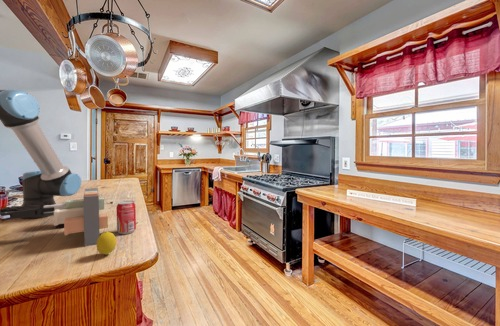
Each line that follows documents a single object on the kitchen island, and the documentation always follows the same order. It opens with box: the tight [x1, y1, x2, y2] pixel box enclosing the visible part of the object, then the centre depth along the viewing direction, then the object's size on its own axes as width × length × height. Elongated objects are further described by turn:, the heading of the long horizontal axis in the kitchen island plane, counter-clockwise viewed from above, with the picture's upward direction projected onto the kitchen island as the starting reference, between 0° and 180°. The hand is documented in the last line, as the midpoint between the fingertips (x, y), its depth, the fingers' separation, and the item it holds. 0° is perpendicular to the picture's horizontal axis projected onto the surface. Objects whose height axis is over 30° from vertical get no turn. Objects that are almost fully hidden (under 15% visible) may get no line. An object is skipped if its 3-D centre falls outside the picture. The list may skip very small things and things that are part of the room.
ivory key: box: [53, 207, 84, 227], centre depth 88 cm, size 5×13×5 cm, turn 125°
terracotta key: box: [63, 213, 109, 236], centre depth 84 cm, size 5×13×5 cm, turn 125°
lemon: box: [96, 230, 117, 256], centre depth 75 cm, size 6×6×8 cm
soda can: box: [115, 200, 137, 235], centre depth 96 cm, size 7×7×13 cm
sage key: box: [65, 197, 105, 211], centre depth 95 cm, size 5×13×5 cm, turn 125°
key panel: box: [83, 187, 100, 247], centre depth 91 cm, size 20×4×19 cm, turn 35°
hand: (65, 207), depth 91 cm, fingers closed
